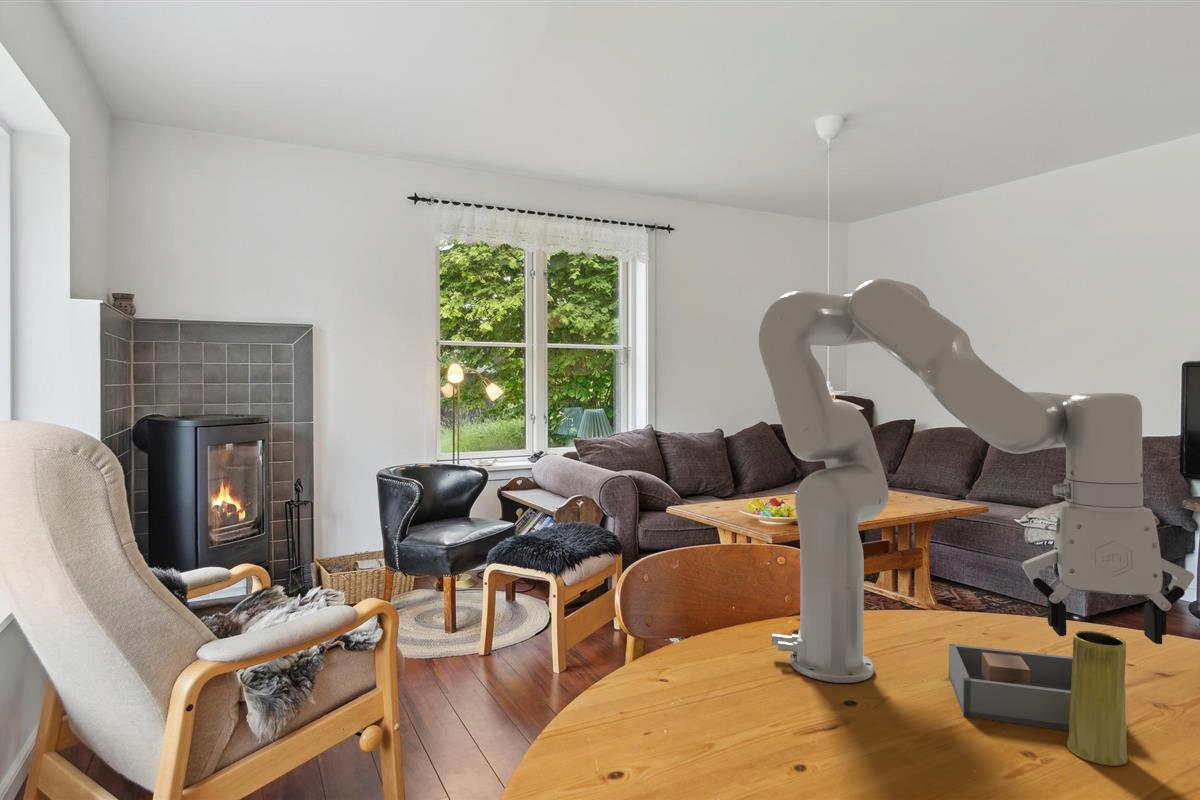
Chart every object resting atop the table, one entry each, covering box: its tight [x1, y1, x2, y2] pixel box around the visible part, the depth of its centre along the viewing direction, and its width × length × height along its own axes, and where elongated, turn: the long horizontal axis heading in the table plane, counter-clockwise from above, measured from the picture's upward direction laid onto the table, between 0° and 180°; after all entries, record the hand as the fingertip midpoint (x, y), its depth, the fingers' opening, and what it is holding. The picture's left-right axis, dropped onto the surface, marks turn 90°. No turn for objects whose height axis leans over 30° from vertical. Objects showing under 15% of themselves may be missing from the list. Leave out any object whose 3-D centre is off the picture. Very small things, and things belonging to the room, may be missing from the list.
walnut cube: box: [981, 652, 1030, 686], centre depth 99 cm, size 5×5×5 cm
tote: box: [948, 643, 1073, 732], centre depth 98 cm, size 18×14×5 cm
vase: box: [1066, 630, 1129, 767], centre depth 85 cm, size 6×6×14 cm
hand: (1105, 636), depth 85 cm, fingers open, 9 cm apart
